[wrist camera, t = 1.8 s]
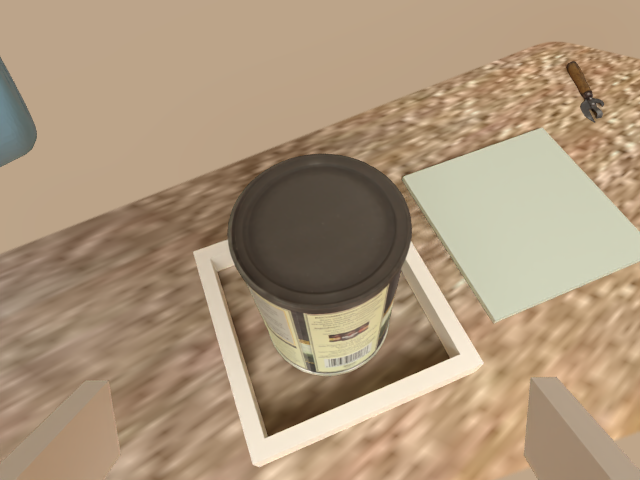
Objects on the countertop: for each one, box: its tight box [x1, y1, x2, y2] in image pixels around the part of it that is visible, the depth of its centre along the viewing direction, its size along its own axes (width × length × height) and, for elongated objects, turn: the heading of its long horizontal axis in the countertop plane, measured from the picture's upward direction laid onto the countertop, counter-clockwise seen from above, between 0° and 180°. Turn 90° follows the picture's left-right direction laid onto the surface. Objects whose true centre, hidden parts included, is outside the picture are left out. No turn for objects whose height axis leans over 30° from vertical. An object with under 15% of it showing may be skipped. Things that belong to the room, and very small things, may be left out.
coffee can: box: [227, 154, 412, 376], centre depth 30 cm, size 10×10×14 cm
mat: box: [402, 128, 640, 323], centre depth 40 cm, size 16×16×1 cm
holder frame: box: [193, 239, 484, 467], centre depth 35 cm, size 17×17×2 cm
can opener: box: [567, 61, 604, 122], centre depth 48 cm, size 9×2×1 cm, turn 177°
